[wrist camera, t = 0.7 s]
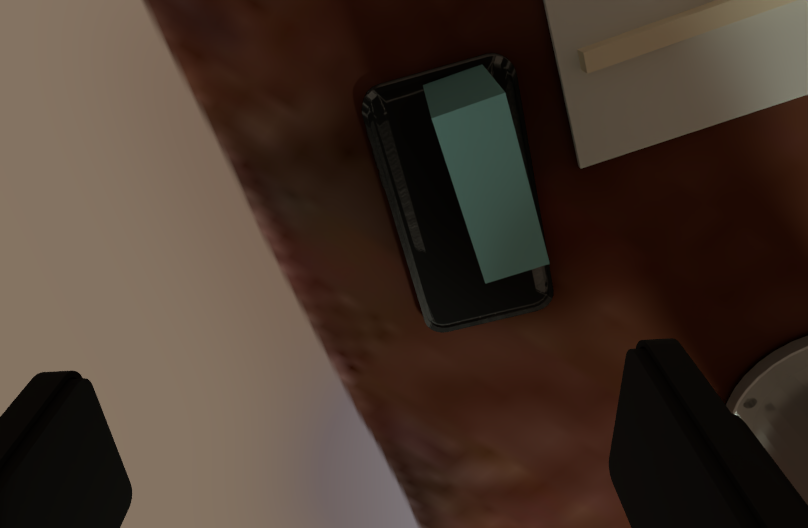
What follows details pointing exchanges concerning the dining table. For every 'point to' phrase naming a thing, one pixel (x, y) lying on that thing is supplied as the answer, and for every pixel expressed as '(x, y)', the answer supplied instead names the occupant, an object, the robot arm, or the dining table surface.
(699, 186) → the dining table surface
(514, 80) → the phone
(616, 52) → the slot mat
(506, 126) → the teal rectangular block
